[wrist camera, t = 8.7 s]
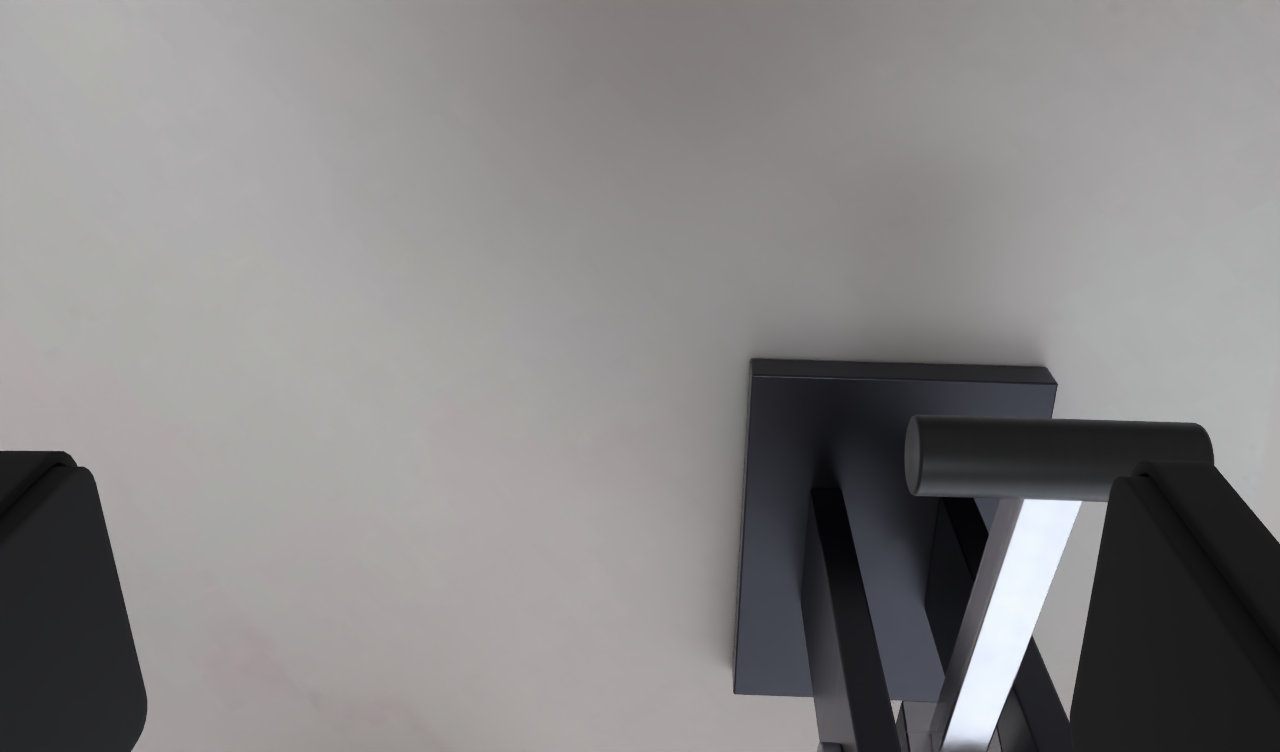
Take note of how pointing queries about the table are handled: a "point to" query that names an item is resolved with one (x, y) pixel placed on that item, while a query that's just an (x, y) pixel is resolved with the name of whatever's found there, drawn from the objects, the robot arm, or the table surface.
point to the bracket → (869, 547)
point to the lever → (1016, 541)
